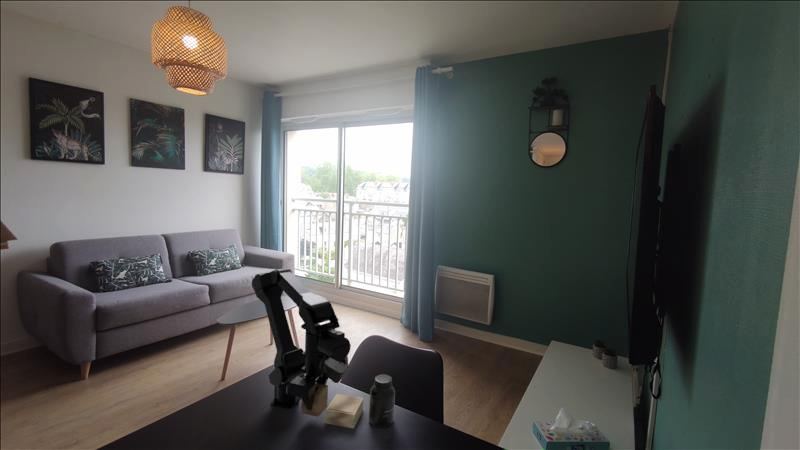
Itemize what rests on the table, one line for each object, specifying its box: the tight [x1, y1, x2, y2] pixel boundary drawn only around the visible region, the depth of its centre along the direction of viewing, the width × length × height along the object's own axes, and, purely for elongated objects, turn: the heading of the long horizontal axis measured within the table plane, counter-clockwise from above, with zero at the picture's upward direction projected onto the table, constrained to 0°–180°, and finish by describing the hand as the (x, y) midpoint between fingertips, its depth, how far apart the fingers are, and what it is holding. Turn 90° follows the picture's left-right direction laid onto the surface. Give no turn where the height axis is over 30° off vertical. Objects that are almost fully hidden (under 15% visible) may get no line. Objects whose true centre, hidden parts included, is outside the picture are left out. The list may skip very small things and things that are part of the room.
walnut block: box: [300, 383, 329, 418], centre depth 96 cm, size 5×5×6 cm
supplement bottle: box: [368, 374, 396, 428], centre depth 98 cm, size 7×7×12 cm
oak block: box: [324, 393, 364, 429], centre depth 99 cm, size 8×8×4 cm
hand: (314, 404), depth 96 cm, fingers closed on walnut block, 5 cm apart
